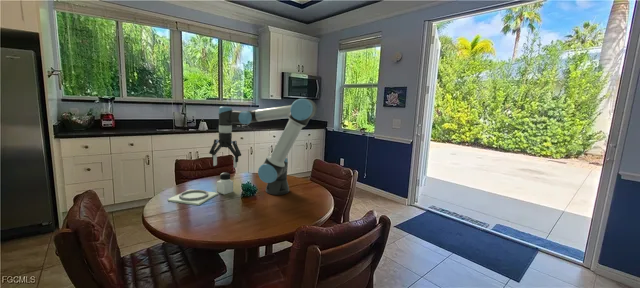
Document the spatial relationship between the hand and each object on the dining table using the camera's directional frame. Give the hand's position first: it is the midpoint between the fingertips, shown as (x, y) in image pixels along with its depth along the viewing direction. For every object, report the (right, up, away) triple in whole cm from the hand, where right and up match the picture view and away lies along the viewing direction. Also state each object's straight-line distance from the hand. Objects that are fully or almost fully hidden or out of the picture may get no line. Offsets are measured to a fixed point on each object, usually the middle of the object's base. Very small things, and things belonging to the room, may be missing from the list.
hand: (225, 166), depth 167 cm
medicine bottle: (-1, -17, +2) cm, 17 cm away
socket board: (-15, -17, -10) cm, 25 cm away
